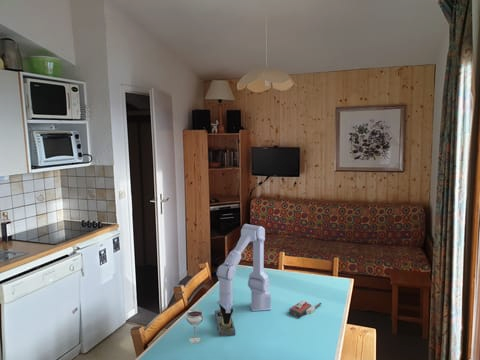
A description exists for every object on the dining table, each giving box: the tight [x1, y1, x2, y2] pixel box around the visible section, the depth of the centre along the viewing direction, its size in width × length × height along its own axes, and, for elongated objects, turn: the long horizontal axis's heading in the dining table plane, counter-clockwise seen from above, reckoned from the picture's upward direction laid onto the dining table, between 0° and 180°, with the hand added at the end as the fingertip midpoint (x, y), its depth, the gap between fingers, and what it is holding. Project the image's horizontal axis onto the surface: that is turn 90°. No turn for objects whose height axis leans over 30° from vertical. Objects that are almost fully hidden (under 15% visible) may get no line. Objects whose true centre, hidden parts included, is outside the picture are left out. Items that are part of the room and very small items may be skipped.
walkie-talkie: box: [288, 300, 322, 318], centre depth 187 cm, size 9×4×20 cm
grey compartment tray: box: [214, 309, 236, 337], centre depth 172 cm, size 7×20×2 cm, turn 10°
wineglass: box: [186, 308, 204, 344], centre depth 158 cm, size 7×7×12 cm
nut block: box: [220, 313, 231, 329], centre depth 167 cm, size 4×4×5 cm
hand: (225, 321), depth 167 cm, fingers closed on nut block, 4 cm apart
